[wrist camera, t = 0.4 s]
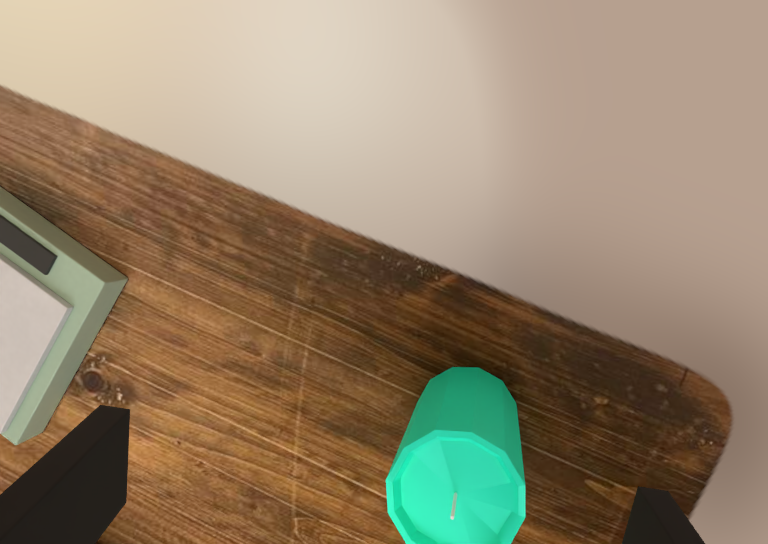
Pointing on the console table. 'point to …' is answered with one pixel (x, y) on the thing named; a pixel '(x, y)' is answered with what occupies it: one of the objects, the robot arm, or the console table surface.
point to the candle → (459, 464)
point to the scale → (44, 314)
